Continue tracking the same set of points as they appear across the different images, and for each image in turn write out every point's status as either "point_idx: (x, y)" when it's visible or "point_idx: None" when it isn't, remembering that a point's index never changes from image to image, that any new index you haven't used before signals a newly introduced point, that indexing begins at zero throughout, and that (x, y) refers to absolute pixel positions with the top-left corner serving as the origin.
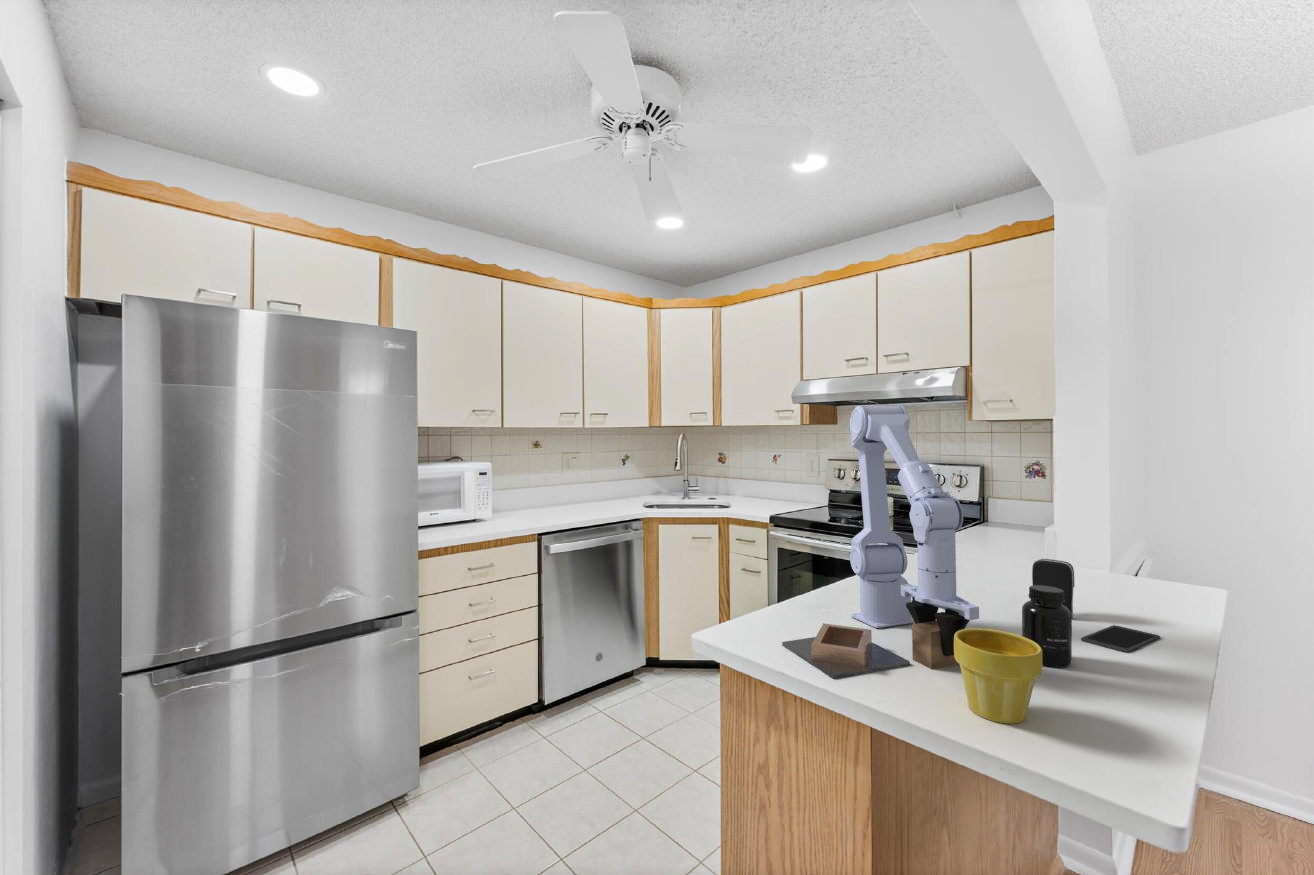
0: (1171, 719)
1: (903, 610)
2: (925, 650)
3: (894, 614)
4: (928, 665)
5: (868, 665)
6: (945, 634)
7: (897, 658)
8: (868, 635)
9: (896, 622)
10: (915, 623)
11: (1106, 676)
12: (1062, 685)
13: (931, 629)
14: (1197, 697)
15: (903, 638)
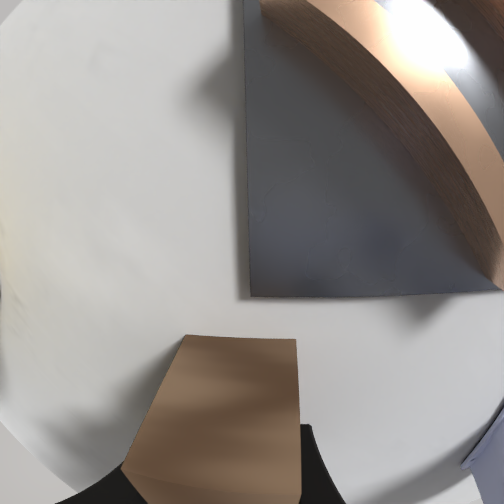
0: (13, 430)
1: (488, 471)
2: (200, 385)
3: (501, 449)
4: (198, 341)
5: (280, 44)
6: (104, 479)
7: (305, 264)
8: (501, 225)
9: (490, 437)
10: (336, 502)
11: None
12: (81, 452)
13: (168, 496)
14: (70, 486)
15: (442, 415)
